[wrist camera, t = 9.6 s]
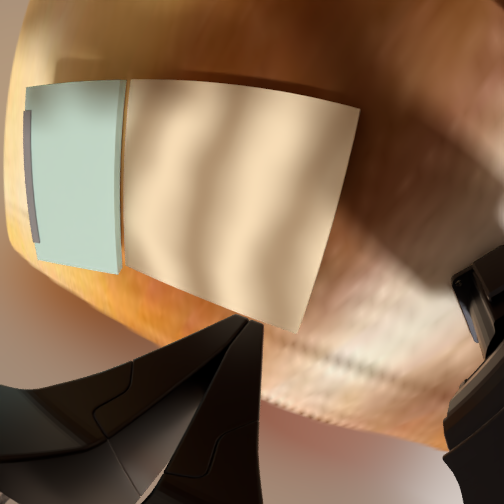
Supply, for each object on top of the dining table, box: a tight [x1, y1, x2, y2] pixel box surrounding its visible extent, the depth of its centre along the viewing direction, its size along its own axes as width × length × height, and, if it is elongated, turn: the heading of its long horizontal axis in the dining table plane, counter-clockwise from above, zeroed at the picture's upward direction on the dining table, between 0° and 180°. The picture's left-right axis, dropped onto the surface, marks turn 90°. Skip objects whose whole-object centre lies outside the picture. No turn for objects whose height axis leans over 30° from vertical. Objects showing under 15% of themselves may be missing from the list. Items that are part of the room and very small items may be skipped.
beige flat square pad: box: [124, 79, 361, 334], centre depth 21 cm, size 16×16×2 cm
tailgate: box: [23, 80, 127, 275], centre depth 22 cm, size 2×16×9 cm
